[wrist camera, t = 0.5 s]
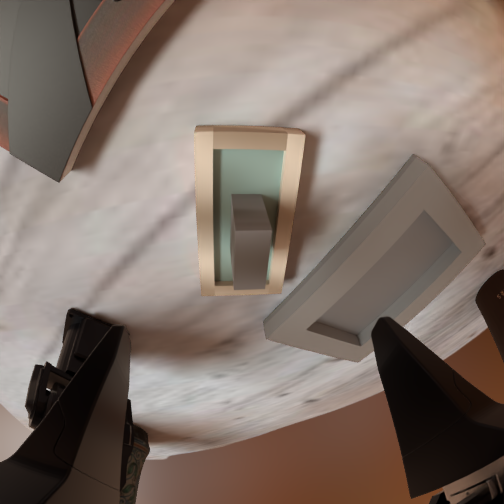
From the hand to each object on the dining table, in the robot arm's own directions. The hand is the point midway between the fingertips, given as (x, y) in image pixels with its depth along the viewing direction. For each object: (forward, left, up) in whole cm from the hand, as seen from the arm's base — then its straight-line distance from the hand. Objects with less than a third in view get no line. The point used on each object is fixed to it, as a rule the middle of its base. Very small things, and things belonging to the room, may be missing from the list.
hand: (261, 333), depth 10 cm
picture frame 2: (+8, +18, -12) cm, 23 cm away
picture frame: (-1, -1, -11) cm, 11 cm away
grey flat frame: (0, -15, -11) cm, 19 cm away
